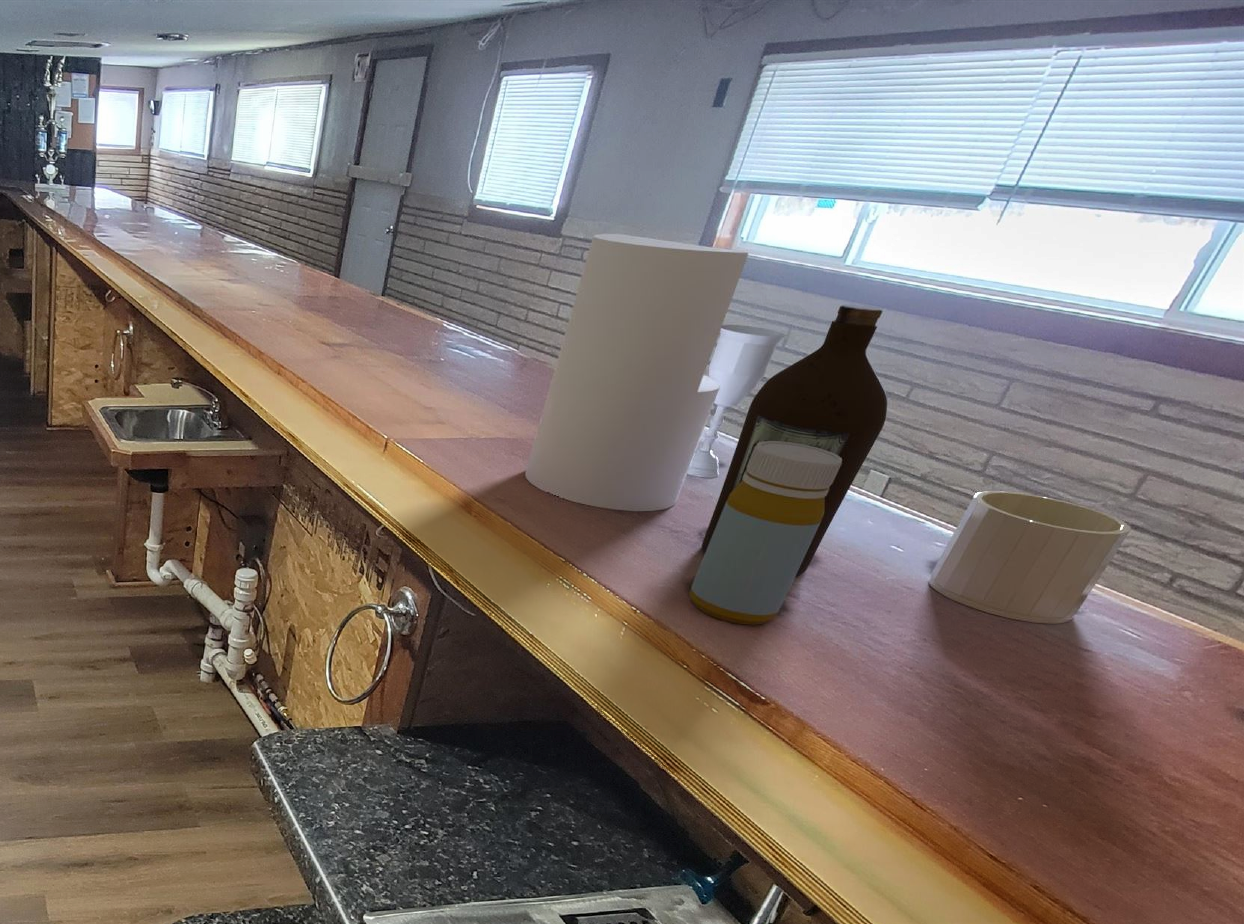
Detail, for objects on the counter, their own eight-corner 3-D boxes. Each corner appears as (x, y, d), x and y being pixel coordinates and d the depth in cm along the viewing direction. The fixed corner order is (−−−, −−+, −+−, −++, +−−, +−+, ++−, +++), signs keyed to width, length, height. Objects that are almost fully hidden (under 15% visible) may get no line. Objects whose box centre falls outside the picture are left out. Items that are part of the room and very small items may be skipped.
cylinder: (593, 516, 104) (682, 252, 90) (495, 467, 118) (559, 232, 104) (710, 505, 108) (812, 253, 94) (602, 460, 123) (677, 234, 109)
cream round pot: (1024, 581, 92) (1075, 498, 88) (1102, 630, 83) (1163, 540, 79) (905, 568, 94) (949, 485, 90) (969, 614, 85) (1021, 525, 80)
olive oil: (712, 531, 101) (809, 294, 89) (824, 562, 94) (945, 311, 82) (679, 555, 95) (778, 303, 82) (796, 590, 88) (923, 322, 76)
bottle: (767, 602, 85) (838, 447, 78) (780, 634, 80) (858, 470, 72) (683, 586, 88) (744, 435, 80) (690, 616, 82) (757, 456, 75)
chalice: (741, 479, 118) (800, 336, 109) (697, 481, 116) (753, 336, 107) (697, 461, 124) (750, 324, 115) (655, 463, 123) (705, 324, 114)
